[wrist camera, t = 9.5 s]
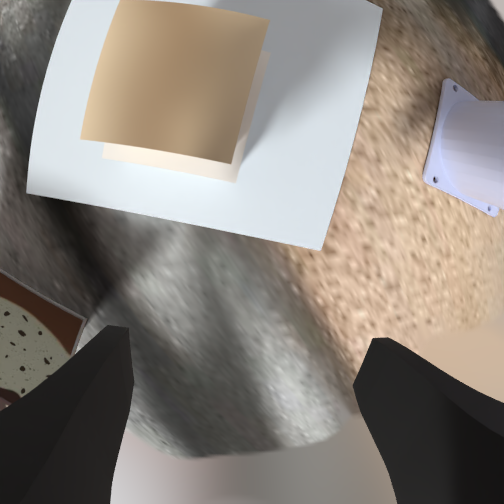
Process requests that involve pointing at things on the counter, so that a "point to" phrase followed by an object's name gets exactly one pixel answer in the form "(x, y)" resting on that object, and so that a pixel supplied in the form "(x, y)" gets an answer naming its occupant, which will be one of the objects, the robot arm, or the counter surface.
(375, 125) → the counter surface
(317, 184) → the white flat panel
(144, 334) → the counter surface
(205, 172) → the base block
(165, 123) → the maple block
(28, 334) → the food container
